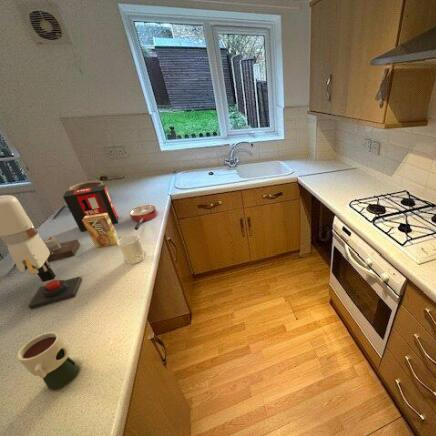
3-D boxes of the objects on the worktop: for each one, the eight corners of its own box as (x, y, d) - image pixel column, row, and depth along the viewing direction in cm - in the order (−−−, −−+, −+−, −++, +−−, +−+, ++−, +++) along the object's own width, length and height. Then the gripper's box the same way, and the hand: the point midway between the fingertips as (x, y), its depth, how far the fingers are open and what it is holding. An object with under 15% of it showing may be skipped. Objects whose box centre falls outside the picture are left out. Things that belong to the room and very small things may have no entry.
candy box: (119, 240, 118) (107, 212, 110) (117, 244, 114) (105, 216, 107) (98, 243, 115) (84, 215, 108) (95, 248, 112) (81, 219, 104)
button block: (31, 309, 80) (25, 302, 79) (42, 290, 88) (37, 283, 87) (75, 297, 85) (70, 289, 83) (82, 279, 93) (78, 272, 91)
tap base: (33, 265, 101) (29, 259, 100) (42, 252, 109) (38, 247, 108) (74, 255, 107) (71, 250, 105) (80, 244, 115) (77, 239, 113)
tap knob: (59, 249, 106) (54, 239, 103) (47, 252, 104) (40, 242, 101) (62, 245, 109) (57, 235, 107) (50, 247, 107) (44, 237, 105)
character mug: (79, 388, 58) (53, 356, 52) (40, 407, 55) (8, 375, 49) (84, 352, 66) (62, 321, 60) (51, 367, 63) (24, 334, 57)
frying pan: (160, 233, 122) (156, 222, 119) (130, 240, 117) (126, 229, 114) (156, 210, 147) (153, 200, 144) (132, 215, 142) (128, 205, 139)
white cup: (150, 256, 105) (143, 237, 100) (132, 267, 99) (123, 247, 94) (139, 251, 109) (132, 233, 104) (121, 261, 103) (113, 241, 98)
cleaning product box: (117, 217, 140) (104, 184, 130) (118, 223, 133) (104, 189, 124) (82, 225, 132) (65, 191, 122) (81, 232, 125) (63, 196, 116)
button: (45, 292, 83) (43, 288, 82) (49, 285, 86) (47, 281, 85) (59, 288, 84) (56, 285, 84) (62, 282, 87) (60, 278, 86)
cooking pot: (83, 198, 167) (76, 181, 161) (115, 193, 173) (108, 177, 167) (69, 212, 146) (59, 194, 140) (105, 207, 152) (97, 189, 146)
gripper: (15, 227, 79) (43, 270, 88) (-10, 250, 67) (26, 297, 76) (44, 221, 82) (69, 263, 91) (25, 243, 70) (56, 289, 79)
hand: (49, 279), depth 83 cm, fingers closed
